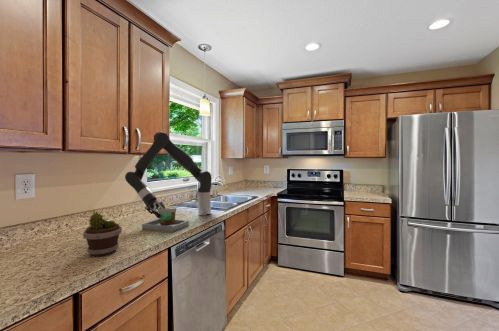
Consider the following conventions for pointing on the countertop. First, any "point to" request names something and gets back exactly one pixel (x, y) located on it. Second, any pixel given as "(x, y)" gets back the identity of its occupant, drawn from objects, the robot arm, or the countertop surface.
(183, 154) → the robot arm
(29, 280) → the countertop surface
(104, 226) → the flowerpot
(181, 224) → the tray
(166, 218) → the food container
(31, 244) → the countertop surface
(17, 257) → the countertop surface
